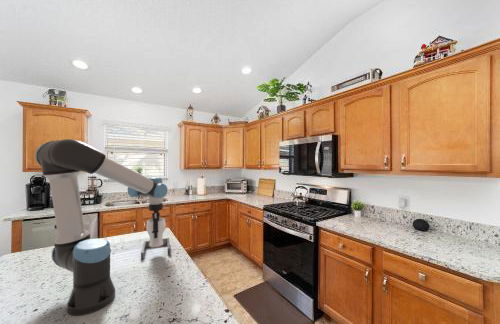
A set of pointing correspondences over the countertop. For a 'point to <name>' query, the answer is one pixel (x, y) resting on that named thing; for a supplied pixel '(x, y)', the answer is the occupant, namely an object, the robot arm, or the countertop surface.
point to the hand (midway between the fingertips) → (156, 240)
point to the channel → (146, 245)
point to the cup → (160, 231)
